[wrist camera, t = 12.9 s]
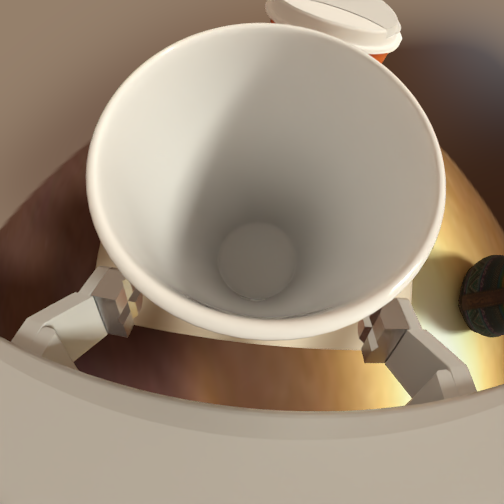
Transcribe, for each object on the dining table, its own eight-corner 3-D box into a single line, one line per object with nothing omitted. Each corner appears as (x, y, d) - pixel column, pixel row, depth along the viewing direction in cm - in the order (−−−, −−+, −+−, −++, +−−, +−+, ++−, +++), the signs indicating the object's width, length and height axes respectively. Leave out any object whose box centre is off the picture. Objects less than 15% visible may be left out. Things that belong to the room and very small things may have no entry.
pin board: (98, 314, 20) (54, 313, 14) (123, 185, 22) (91, 150, 16) (397, 347, 19) (441, 356, 14) (402, 215, 22) (440, 189, 16)
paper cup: (253, 163, 22) (257, 14, 9) (264, 96, 24) (272, -32, 10) (346, 177, 22) (426, 55, 8) (344, 110, 24) (393, -6, 10)
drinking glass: (190, 240, 19) (66, 89, 4) (279, 200, 20) (325, 5, 5) (232, 332, 18) (161, 419, 3) (324, 287, 19) (499, 226, 4)
